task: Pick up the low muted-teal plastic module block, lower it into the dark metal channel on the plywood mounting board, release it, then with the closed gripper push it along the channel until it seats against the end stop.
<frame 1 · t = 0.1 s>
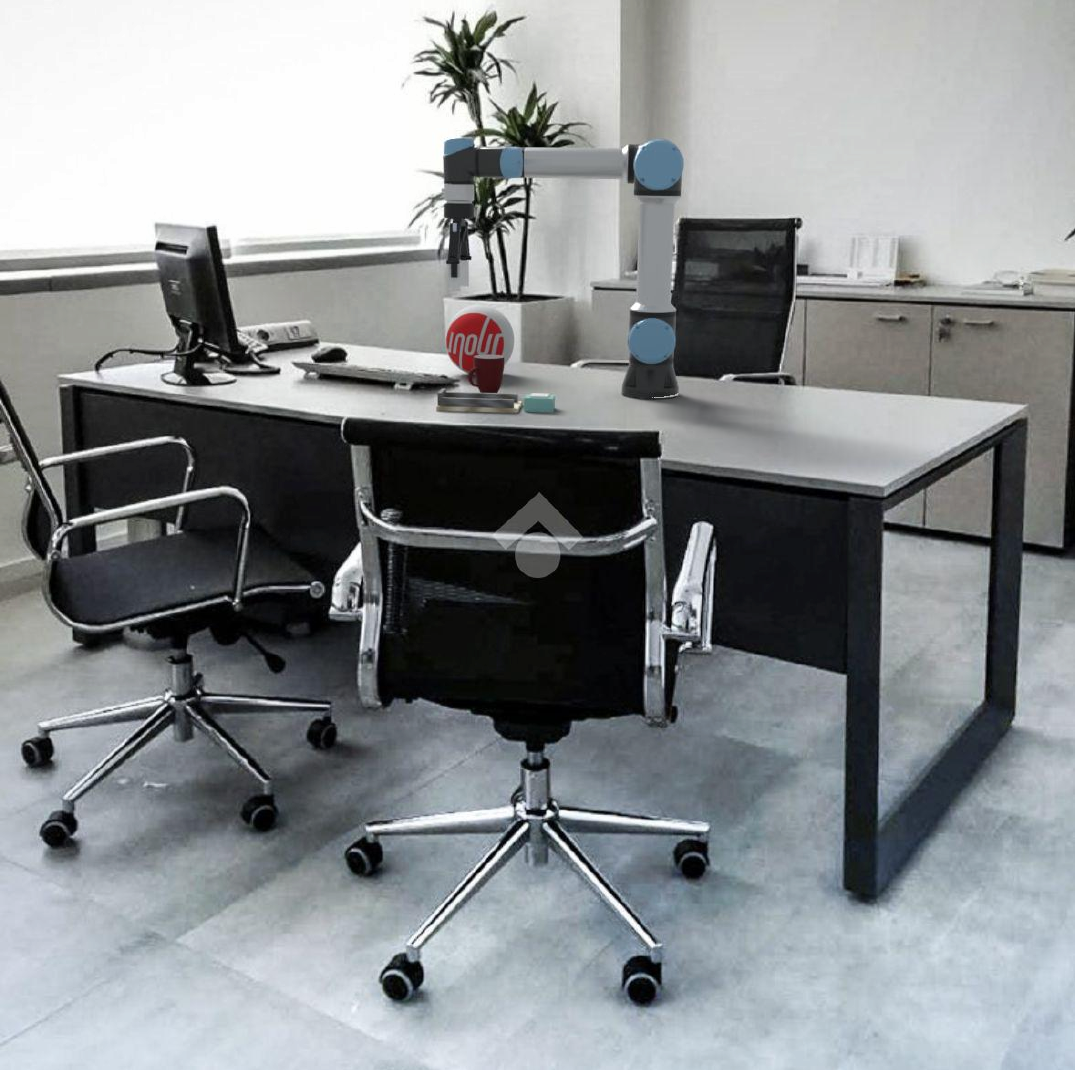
hand: (459, 288, 334), 28 cm above the table, fingers open, 13 cm apart
rail mount: (479, 407, 328), on the table
decorative sphere: (479, 375, 379), on the table
mug: (485, 395, 347), on the table
module: (539, 410, 327), on the table
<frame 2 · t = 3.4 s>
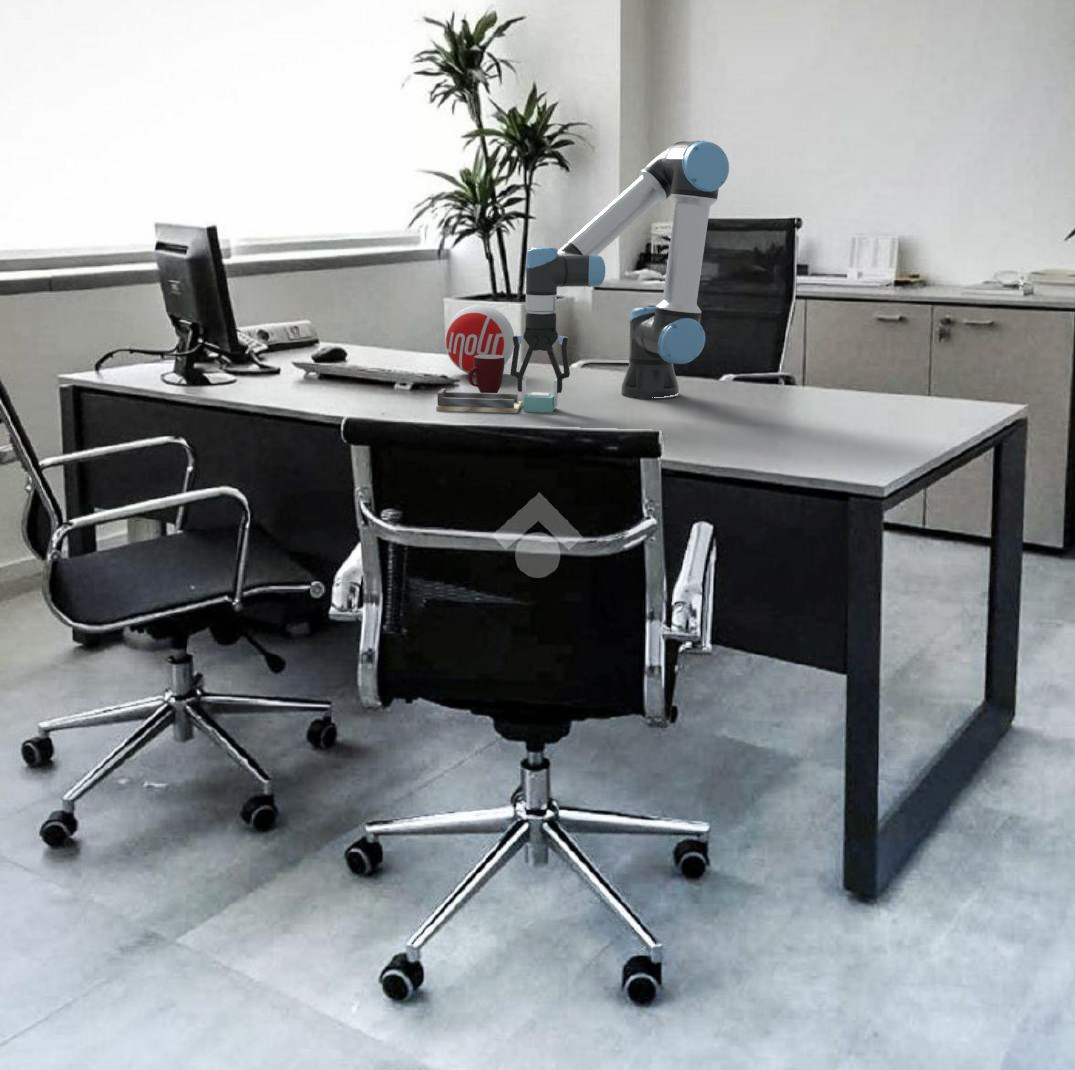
hand: (539, 405, 327), 1 cm above the table, fingers closed on module, 7 cm apart
module: (539, 409, 327), on the table, touching gripper
everything else where it was.
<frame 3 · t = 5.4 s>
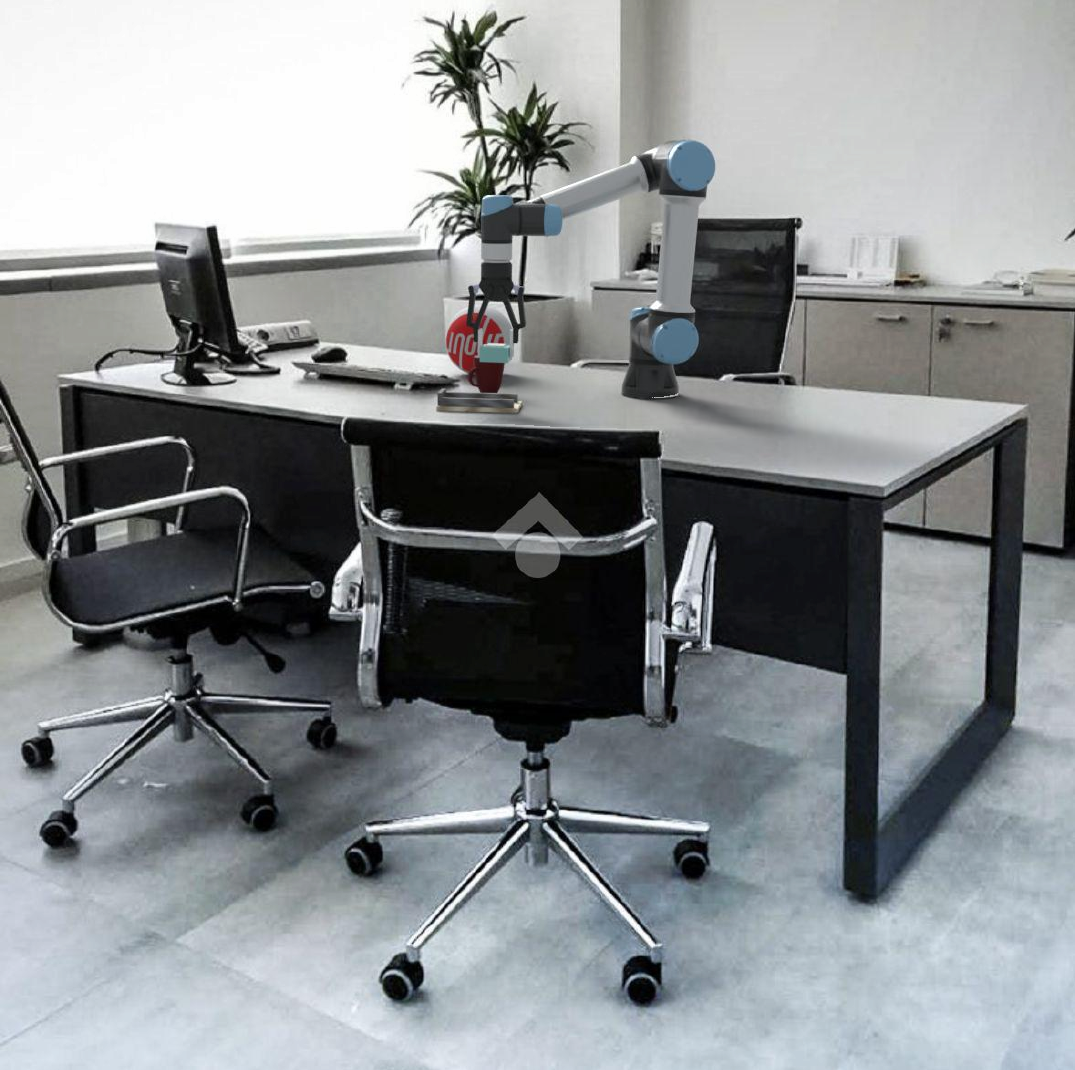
hand: (495, 355, 324), 13 cm above the table, fingers closed on module, 7 cm apart
module: (495, 360, 325), point 12 cm above the table, touching gripper
everything else where it was.
when the fingers open (3 cm above the table, at t = 7.5 s): module stays where it is, resting on rail mount.
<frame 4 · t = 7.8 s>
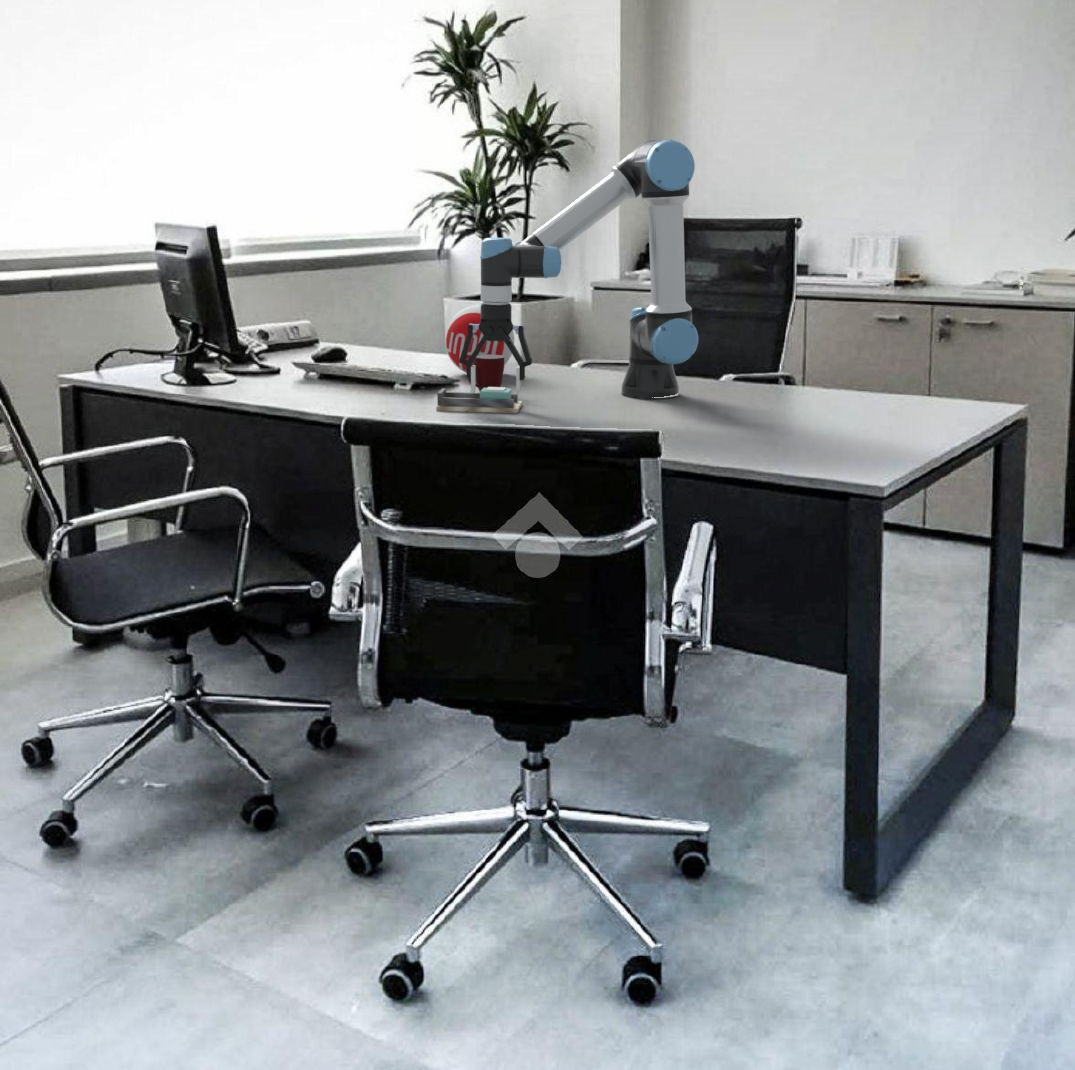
hand: (495, 392, 327), 4 cm above the table, fingers open, 10 cm apart
module: (495, 404, 328), point 1 cm above the table, touching rail mount
everything else where it was.
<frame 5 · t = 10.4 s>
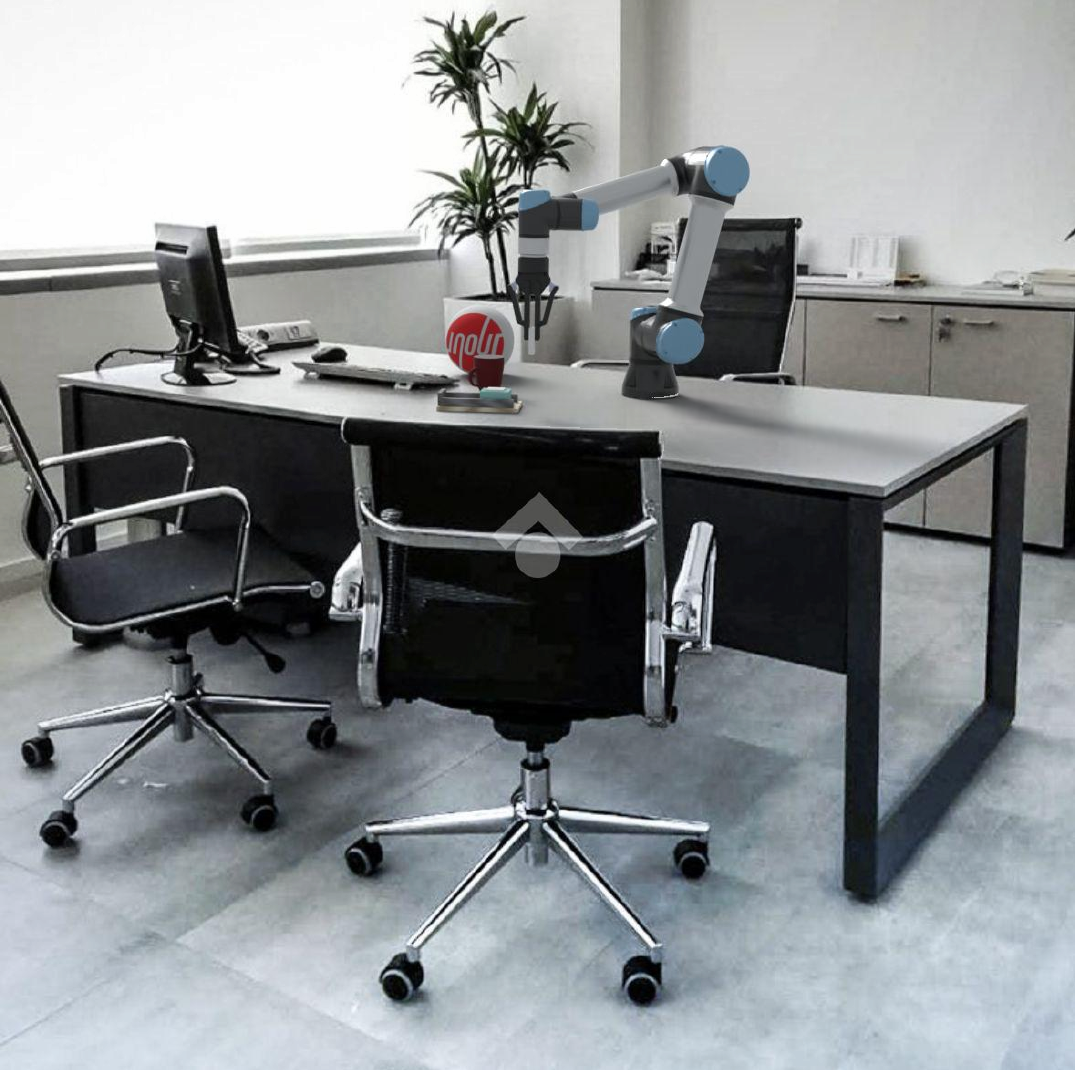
hand: (531, 353, 323), 14 cm above the table, fingers closed
nothing on the table moved.
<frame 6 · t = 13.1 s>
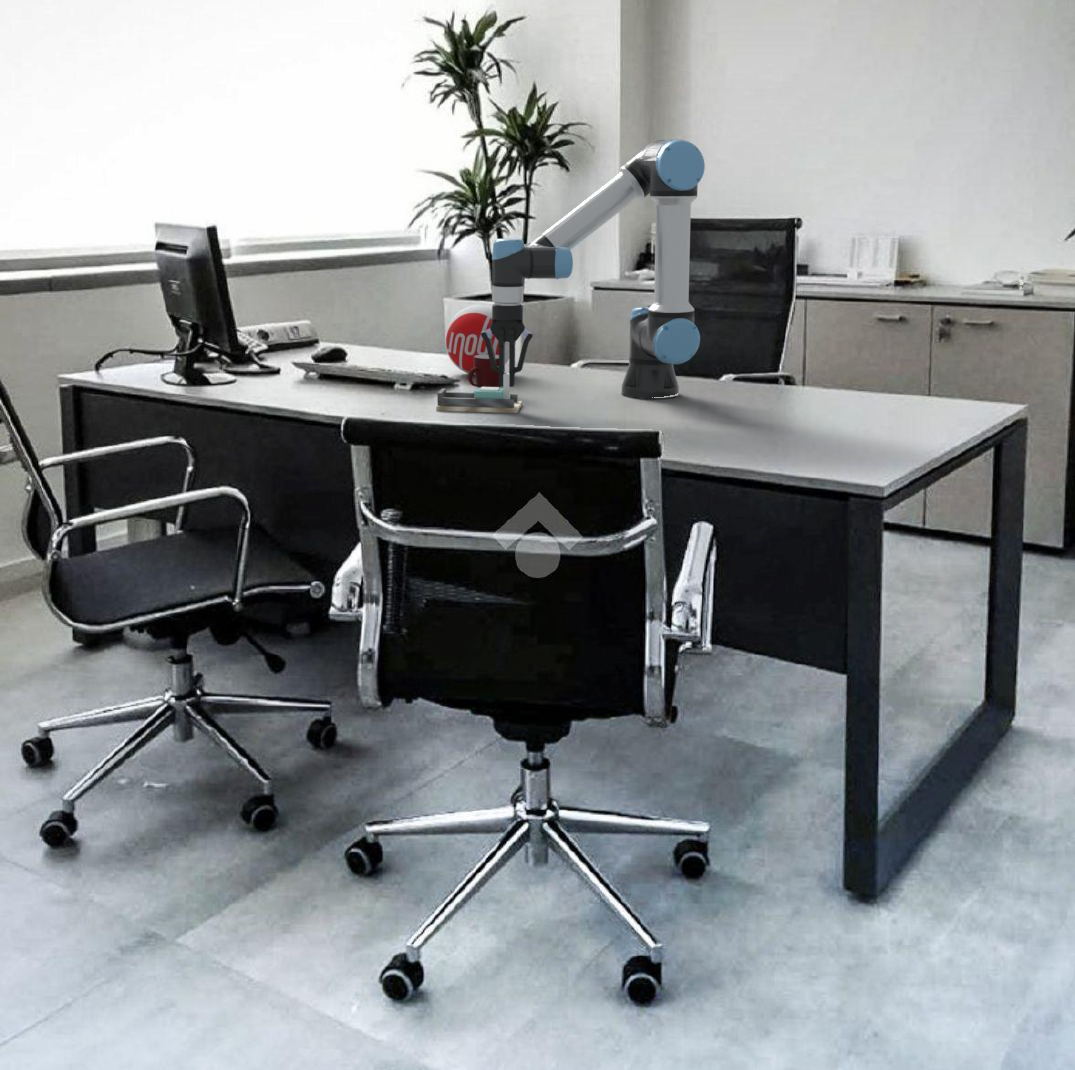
hand: (506, 399, 327), 2 cm above the table, fingers closed
module: (489, 404, 328), point 1 cm above the table, touching rail mount
everything else where it was.
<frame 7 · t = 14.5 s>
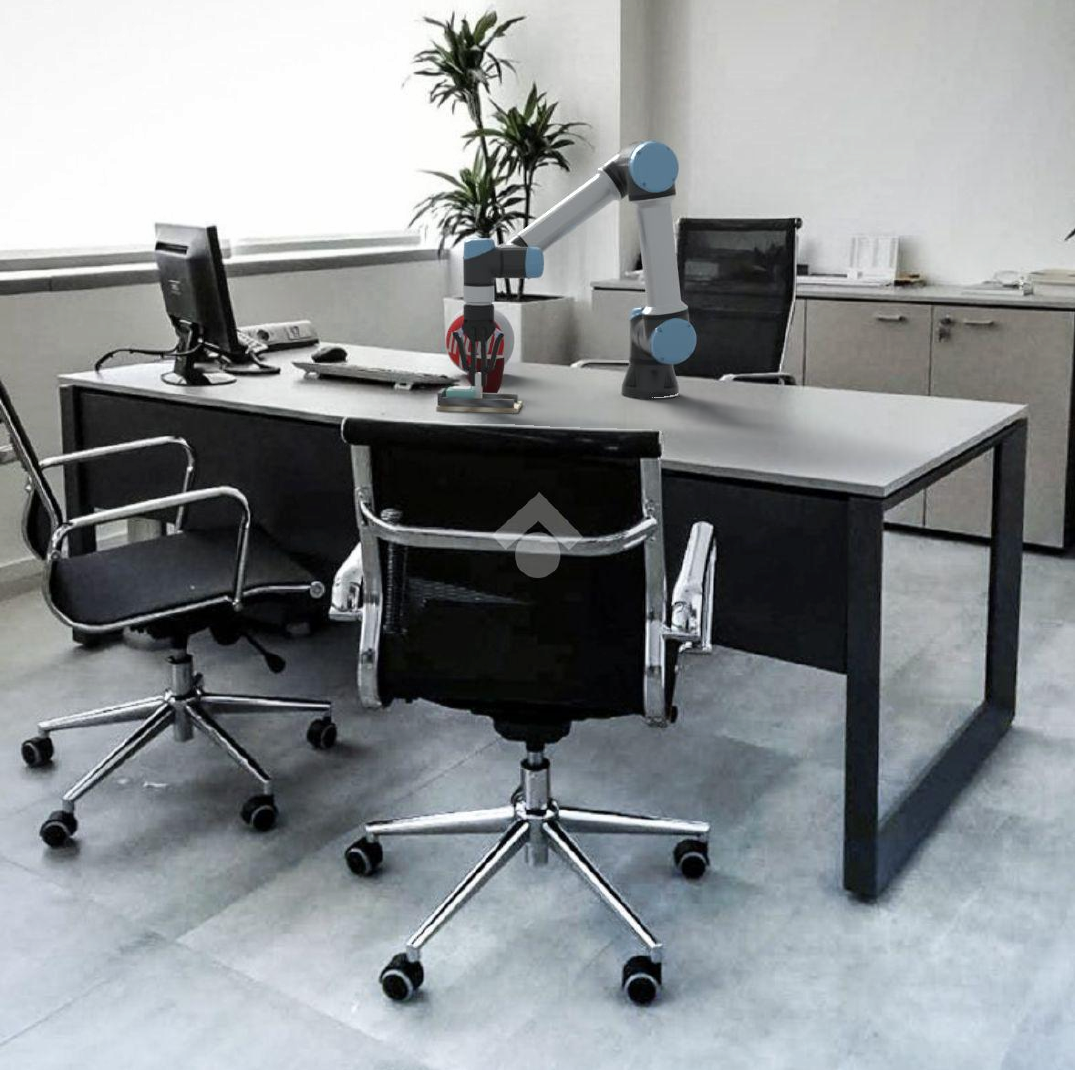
hand: (478, 399, 328), 2 cm above the table, fingers closed
module: (461, 403, 328), point 1 cm above the table, touching gripper
everything else where it was.
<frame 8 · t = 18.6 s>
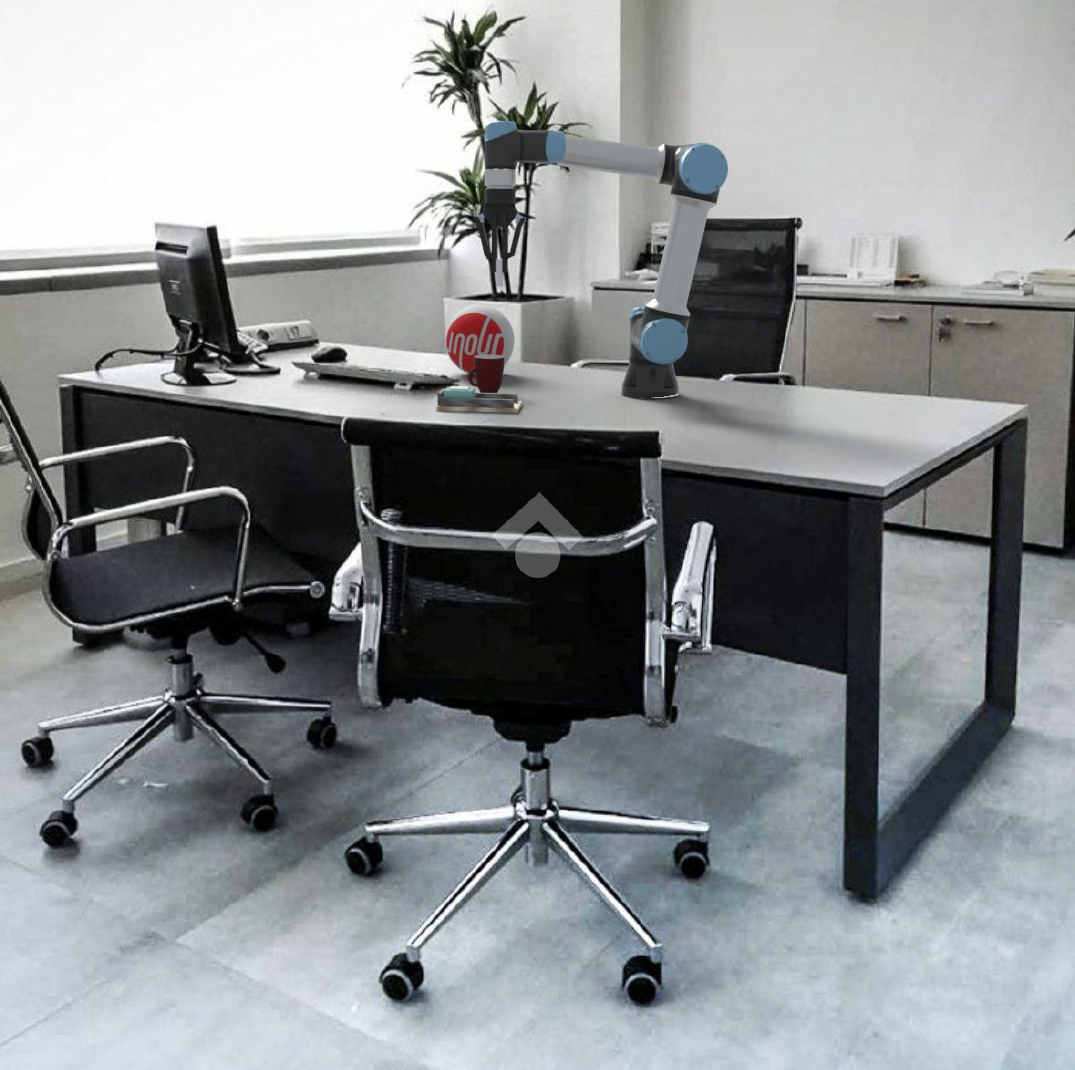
hand: (499, 285, 327), 29 cm above the table, fingers closed
module: (459, 403, 328), point 1 cm above the table, touching rail mount
everything else where it was.
at the end: module 0.3 cm from the target spot on the rail mount, point 1.0 cm above the rail mount's base; module tilted 0°; the gripper is holding nothing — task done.
